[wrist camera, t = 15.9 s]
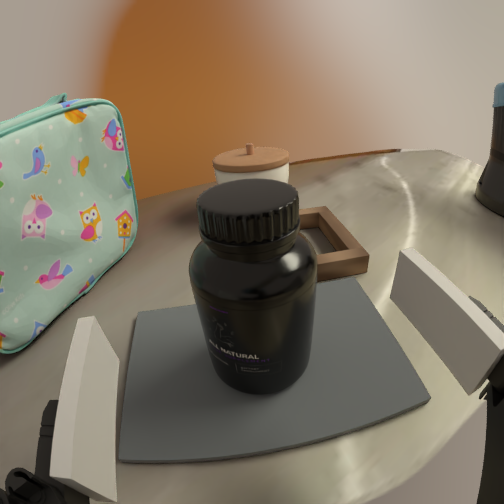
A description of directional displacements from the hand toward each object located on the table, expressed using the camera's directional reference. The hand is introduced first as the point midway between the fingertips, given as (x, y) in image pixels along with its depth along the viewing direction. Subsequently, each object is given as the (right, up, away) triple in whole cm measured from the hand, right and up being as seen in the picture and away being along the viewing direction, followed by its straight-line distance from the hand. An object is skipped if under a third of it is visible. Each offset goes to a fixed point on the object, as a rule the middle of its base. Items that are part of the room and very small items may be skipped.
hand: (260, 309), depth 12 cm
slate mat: (0, -6, +9) cm, 10 cm away
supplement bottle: (0, -5, +8) cm, 10 cm away
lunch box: (-22, -2, +19) cm, 29 cm away
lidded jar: (0, +9, +33) cm, 34 cm away
